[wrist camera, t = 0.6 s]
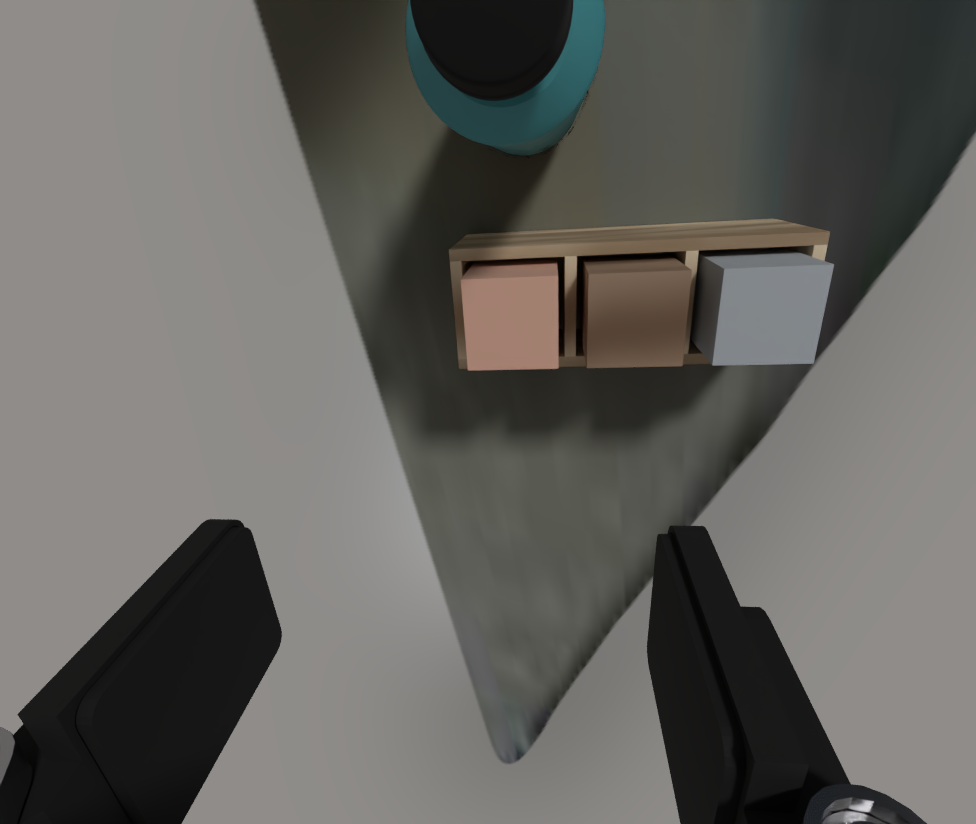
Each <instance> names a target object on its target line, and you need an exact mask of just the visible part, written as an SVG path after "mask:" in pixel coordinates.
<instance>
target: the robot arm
mask: <svg viewBox="0 0 976 824" xmlns="http://www.w3.org/2000/svg"><path fill="white" fill-rule="evenodd" d="M281 634H282V631H281V627H280V623H279V620H278V617H277V614H276V610H275V607H274V604H273V601H272V597H271V594H270V591H269V587H268V585H267V581H266V577H265V574H264V571H263V568H262V565H261V561H260V558H259V555H258V551H257V548H256V545H255V541H254V538H253V535H252V532H251V530H250V529H248V528H245V527H244V525H243V523H242V522H241V521H239V520H220V519H217V520H216V519H210V520H206V521H205V522H203V523H202V524H201V525H200V526H199V527H198V528H197V529H196V530H195V531H194V532H193V533H192V534H191V535H190V536H189V537H188V538H187V539H186V540H185V541H184V542H183V544H182V545H181V546H180V547H179V548H178V549H177V550H176V551H175V552H174V553H173V554H172V555H171V556H170V557H169V558H168V559H167V560H166V561H165V562H164V563H163V564H162V565H161V566H160V567H159V568H158V570H156V572H155V573H154V574H153V575H152V576H151V577H150V578H149V579H148V580H147V581H146V582H145V583H144V584H143V585H142V586H141V587H140V588H139V589H138V590H137V591H136V592H135V593H134V594H133V595H132V597H130V599H128V600H127V602H126V603H125V604H124V605H123V606H122V607H121V608H120V609H119V610H118V611H117V612H116V613H115V614H114V615H113V616H112V617H111V618H110V619H109V620H108V621H107V622H106V623H105V624H104V625H103V626H102V627H101V629H99V631H98V632H97V633H96V634H95V635H94V636H93V637H92V638H91V639H90V640H89V641H88V642H87V643H86V644H85V645H84V646H83V647H82V648H81V649H80V651H78V652H77V653H76V654H75V655H74V656H73V657H72V658H71V660H70V661H69V662H68V663H67V664H66V665H65V666H64V667H63V668H62V669H61V670H60V671H59V672H58V673H57V674H56V675H55V676H54V677H53V678H52V679H51V680H50V681H49V682H48V683H47V684H46V686H45V687H44V688H43V689H42V690H41V691H40V692H39V693H38V694H37V695H36V696H35V697H34V698H33V699H32V700H31V701H30V702H29V703H28V704H27V705H26V706H25V707H24V708H23V709H22V710H21V711H20V712H19V714H18V716H19V717H20V719H21V720H22V722H23V725H22V726H21V728H19V730H18V731H17V732H16V733H15V734H14V735H13V734H12V733H11V732H10V731H8V730H6V729H4V728H2V727H0V824H181V823H182V822H183V820H184V818H185V816H186V814H187V813H188V811H189V809H190V807H191V805H192V804H193V802H194V800H195V798H196V796H197V795H198V793H199V791H200V789H201V788H202V786H203V784H204V782H205V780H206V779H207V777H208V775H209V773H210V771H211V770H212V768H213V766H214V764H215V762H216V760H217V759H218V757H219V755H220V753H221V751H222V750H223V748H224V746H225V744H226V743H227V741H228V739H229V737H230V735H231V734H232V732H233V730H234V728H235V726H236V725H237V723H238V721H239V719H240V717H241V716H242V714H243V712H244V710H245V708H246V706H247V705H248V703H249V701H250V699H251V697H252V696H253V694H254V692H255V690H256V688H257V687H258V685H259V683H260V681H261V680H262V678H263V676H264V674H265V672H266V671H267V669H268V667H269V665H270V663H271V662H272V660H273V658H274V656H275V654H276V653H277V651H278V649H279V646H280V643H281V637H282V635H281ZM647 654H648V664H649V670H650V675H651V679H652V685H653V690H654V695H655V699H656V704H657V709H658V714H659V719H660V724H661V729H662V734H663V739H664V744H665V749H666V754H667V759H668V763H669V769H670V774H671V778H672V784H673V788H674V793H675V799H676V803H677V807H678V813H679V818H680V823H681V824H927V823H925V822H924V821H923V820H922V819H921V818H920V817H918V816H917V815H916V814H915V813H914V812H913V811H912V810H910V809H909V808H907V807H906V806H904V805H902V804H901V803H899V802H897V801H896V800H894V799H892V798H891V797H889V796H887V795H886V794H883V793H880V792H878V791H875V790H872V789H870V788H867V787H864V786H860V785H851V784H850V782H849V780H848V778H847V776H846V774H845V772H844V770H843V768H842V766H841V764H840V761H839V759H838V757H837V756H836V754H835V751H834V749H833V747H832V745H831V743H830V741H829V739H828V737H827V735H826V733H825V731H824V729H823V727H822V725H821V723H820V721H819V719H818V717H817V714H816V712H815V710H814V708H813V706H812V704H811V703H810V700H809V698H808V696H807V694H806V692H805V690H804V688H803V686H802V684H801V682H800V680H799V678H798V676H797V674H796V672H795V670H794V668H793V665H792V664H791V662H790V659H789V657H788V655H787V653H786V651H785V649H784V647H783V645H782V643H781V641H780V639H779V637H778V635H777V633H776V631H775V629H774V627H773V625H772V623H771V621H770V619H769V617H768V616H767V614H766V612H765V611H764V610H763V609H761V608H760V607H740V604H739V602H738V600H737V598H736V596H735V593H734V591H733V589H732V586H731V584H730V582H729V579H728V577H727V575H726V572H725V570H724V568H723V566H722V563H721V561H720V559H719V557H718V554H717V552H716V550H715V547H714V545H713V543H712V540H711V538H710V536H709V534H708V531H707V530H706V528H705V527H704V526H670V527H669V530H668V534H658V537H657V543H656V554H655V565H654V576H653V587H652V598H651V608H650V619H649V631H648V641H647Z"/></svg>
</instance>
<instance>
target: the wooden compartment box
mask: <svg viewBox="0 0 976 824" xmlns="http://www.w3.org/2000/svg"><path fill="white" fill-rule="evenodd" d="M829 235H830V232H829V231H825V230H821V229H817V228H812V227H808V226H804V225H799V224H795V223H791V222H786V221H782V220H778V219H756V220H737V221H717V222H698V223H678V224H658V225H639V226H619V227H600V228H580V229H561V230H541V231H521V232H502V233H482V234H467V235H466V236H465V237H463V238H462V239H461V240H460V241H459V242H457V243H456V244H455V245H454V246H453V247H452V248H450V249H449V259H450V270H451V282H452V293H453V305H454V316H455V328H456V339H457V351H458V362H459V369H468V366H467V353H466V341H465V328H464V316H463V303H462V290H461V279H462V277H463V276H464V275H465V273H466V272H467V271H468V269H469V268H470V267H471V266H472V264H473V263H474V262H494V261H516V260H539V259H557V269H558V364H559V367H581V366H586V361H585V356H584V351H583V346H582V341H581V311H582V258H584V257H606V256H628V255H651V254H670V255H672V256H673V257H674V258H676V259H677V260H679V261H680V262H681V263H683V264H684V265H685V266H687V267H688V268H690V269H691V270H692V276H691V286H690V296H689V306H688V316H687V326H686V336H685V346H684V356H683V364H711V363H710V362H709V361H708V360H707V359H706V357H705V356H704V355H703V354H702V352H701V351H700V350H699V349H698V348H697V346H696V345H695V344H694V343H693V342H692V340H691V339H690V331H691V321H692V311H693V302H694V292H695V283H696V273H697V263H698V254H699V252H718V251H740V250H763V249H785V248H788V249H791V250H793V251H796V252H799V253H802V254H805V255H808V256H811V257H814V258H817V259H820V260H823V261H824V260H825V255H826V250H827V245H828V240H829Z"/></svg>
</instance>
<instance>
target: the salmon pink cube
mask: <svg viewBox="0 0 976 824" xmlns="http://www.w3.org/2000/svg"><path fill="white" fill-rule="evenodd" d="M461 290H462V303H463V316H464V328H465V341H466V353H467V366H468V371H472V370H521V369H559V364H558V269H557V259H539V260H516V261H494V262H474V263H473V264H472V266H471V267H470V268H469V269H468V271H467V272H466V273H465V275H464V276H463V277H462V279H461Z"/></svg>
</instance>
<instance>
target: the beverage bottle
mask: <svg viewBox="0 0 976 824" xmlns="http://www.w3.org/2000/svg"><path fill="white" fill-rule="evenodd" d="M604 31H605V9H604V1H603V0H408V6H407V13H406V44H407V51H408V57H409V62H410V65H411V69H412V72H413V76H414V78H415V80H416V83H417V85H418V88H419V90H420V91H421V93H422V95H423V97H424V99H425V100H426V102H427V103H428V105H429V106H430V107H431V109H432V110H433V111H434V112H435V114H436V115H437V116H438V117H439V118H440V119H441V120H442V121H443V122H444V123H445V124H446V125H447V126H449V127H450V128H451V129H453V130H454V131H455V132H457V133H458V134H460V135H462V136H464V137H466V138H468V139H470V140H472V141H475V142H478V143H481V144H485V145H490V146H492V147H494V148H496V149H498V150H500V151H503V152H505V153H508V154H512V155H519V156H526V157H528V156H527V155H533V154H537V153H540V152H543V151H545V150H546V151H545V152H543V153H544V154H545V153H546V152H548V151H549V152H550V149H549V148H551V147H552V146H553V145H555V144H556V143H557V142H558V141H560V140H561V139H562V138H563V136H565V134H566V133H567V132H568V130H569V129H570V127H571V125H572V124H573V122H574V120H575V118H576V115H577V113H578V111H579V109H580V107H581V104H582V102H583V100H584V97H586V96H585V95H586V93H587V94H588V89H589V87H590V85H591V83H592V81H593V78H594V76H595V73H596V71H597V69H598V68H597V67H598V64H599V61H600V57H601V53H602V47H603V42H604ZM594 79H595V78H594ZM587 97H588V96H587ZM587 97H586V98H587ZM586 98H585V99H586ZM586 100H587V99H586ZM584 102H585V101H584ZM583 105H584V104H583ZM583 105H582V106H583ZM584 107H585V106H584ZM582 108H583V107H582ZM581 111H583V110H581ZM581 113H582V112H581ZM581 113H580V114H581ZM579 116H580V115H579ZM573 128H574V126H573V127H572V129H573ZM572 129H571V130H572ZM570 132H571V131H569V132H568V133H570ZM568 135H569V134H568ZM562 140H563V139H562ZM562 140H561V141H562ZM557 145H558V144H557ZM557 145H556V146H557ZM553 148H554V147H553ZM547 149H548V150H547ZM490 150H491V149H490ZM552 150H553V149H552ZM495 152H496V151H495ZM512 155H510V156H512ZM542 155H543V154H542ZM507 157H508V156H507ZM515 157H516V156H515ZM513 158H514V157H513ZM516 158H517V157H516ZM528 158H529V157H528ZM517 159H518V158H517Z"/></svg>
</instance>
